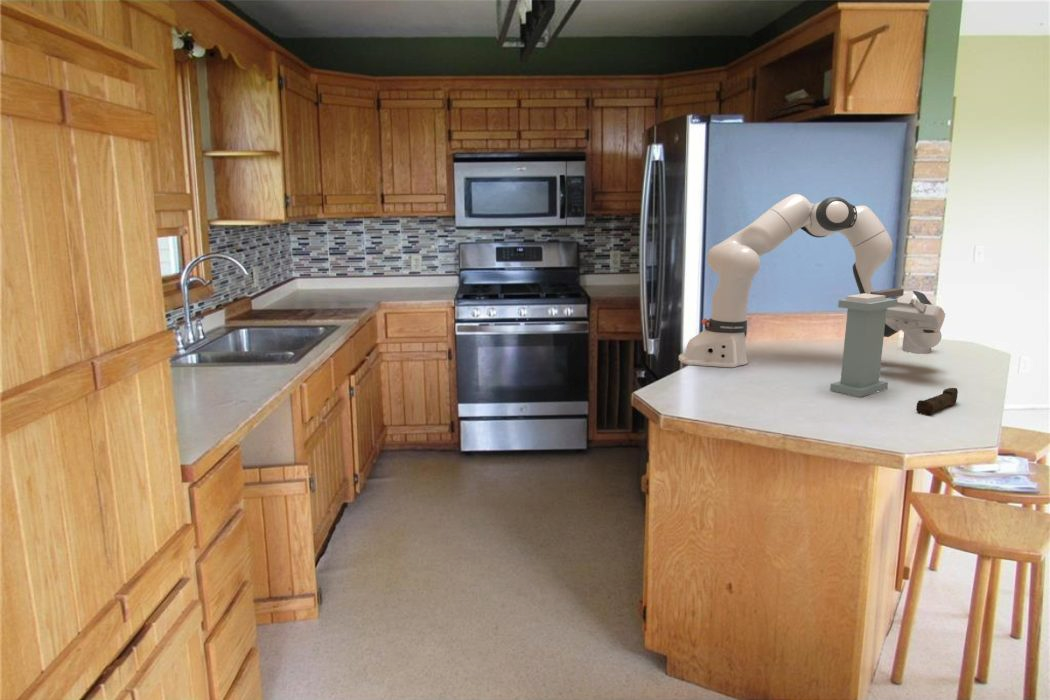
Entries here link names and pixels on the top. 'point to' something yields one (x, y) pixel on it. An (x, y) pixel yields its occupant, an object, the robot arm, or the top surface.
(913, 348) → the cup
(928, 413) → the dark brown elongated piece
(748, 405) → the top surface
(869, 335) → the stand
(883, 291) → the turner
